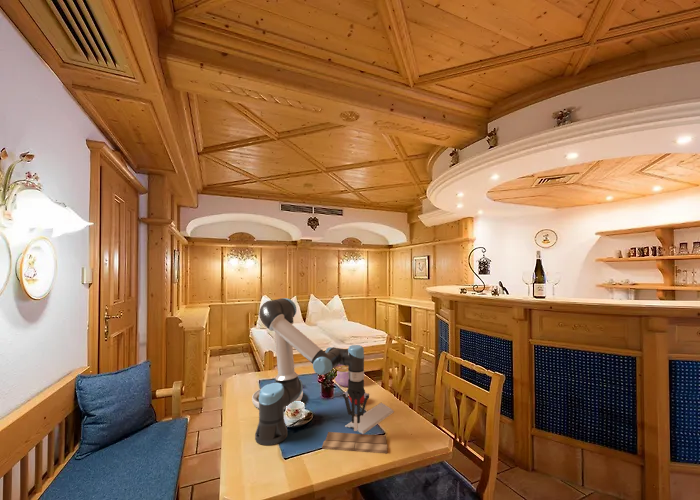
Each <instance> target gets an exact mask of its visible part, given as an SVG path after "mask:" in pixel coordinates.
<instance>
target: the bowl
mask: <svg viewBox="0 0 700 500" xmlns="http://www.w3.org/2000/svg"><path fill="white" fill-rule="evenodd" d="M262 388H263V387H261V388H260V389H257V390H256V391H255V392H254V393H253V394H252V396H251V402H252V403H253V404H252V405H253V406H255V408H257V409H259V393H260V390H261V389H262ZM303 395H304V391H303V390H302V393H301V395H300V396H299V397H298V398H297V399H296V400H295V401H300V402H301V401H302V398H303V397H304V396H303ZM285 410H287V409H286V407H285V408H284V411H285Z"/></svg>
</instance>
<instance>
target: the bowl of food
mask: <svg viewBox="0 0 700 500" xmlns="http://www.w3.org/2000/svg"><path fill="white" fill-rule="evenodd" d="M334 369H337V370H338V371H337V376H336V378H335V379H334V381H335V383H336V384H338V385H340V386H341V387H346V388H348V380H349V378H348V366H346V365H338V366H336V367H335V368H334Z"/></svg>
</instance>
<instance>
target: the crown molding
mask: <svg viewBox="0 0 700 500" xmlns="http://www.w3.org/2000/svg"><path fill="white" fill-rule="evenodd" d="M394 412H395V411H394V409H393V408H391V407H389V406H387V405H386V404H385V403H383V402H380V403H378V404H377V405H375V406H374V407H371V409H369V410H367V411H366V412H364V414H363V416H362V415H361V416H360V423H358V429H357V432H358V433H359V434H366V433H367V432H368V431H370V430H372V429H373V428H374V427H376V425H378V424H379V423H381V422H383V421H384V420H385V419H386V418H388V417H389V416H390V415H392V414H393V413H394ZM344 427H345V428H354V423H352V421H350V422H349V423H347V424H346V425H344Z"/></svg>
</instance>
